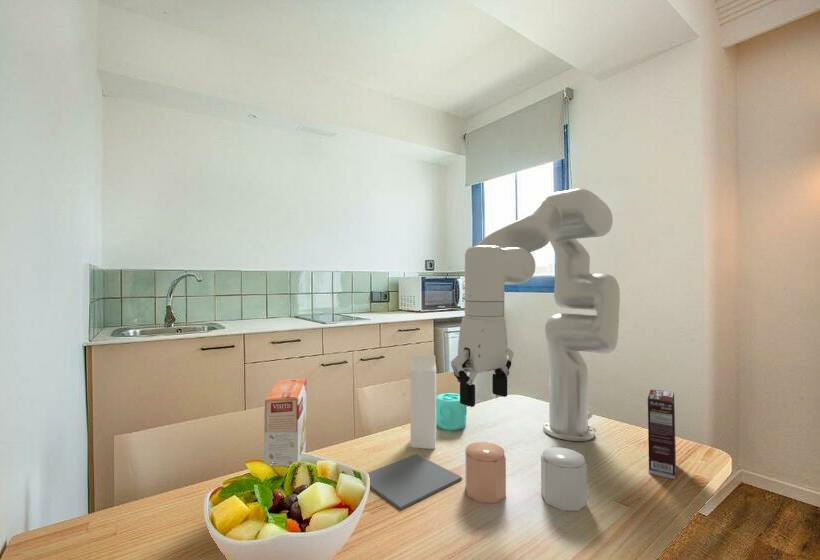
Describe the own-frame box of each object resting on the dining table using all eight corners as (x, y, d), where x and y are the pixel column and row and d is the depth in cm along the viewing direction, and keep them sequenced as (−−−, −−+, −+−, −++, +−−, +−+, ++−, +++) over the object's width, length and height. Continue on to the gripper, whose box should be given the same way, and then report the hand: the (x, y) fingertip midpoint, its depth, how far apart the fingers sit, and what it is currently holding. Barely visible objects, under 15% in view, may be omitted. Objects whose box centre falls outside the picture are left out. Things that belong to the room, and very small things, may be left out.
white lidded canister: (555, 484, 76) (555, 444, 76) (592, 500, 71) (592, 456, 71) (535, 497, 72) (534, 454, 72) (573, 515, 66) (572, 469, 66)
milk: (435, 449, 93) (435, 357, 92) (410, 448, 93) (410, 357, 93) (436, 439, 99) (436, 353, 99) (413, 437, 99) (413, 352, 99)
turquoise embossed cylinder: (466, 421, 111) (466, 393, 111) (463, 432, 103) (463, 402, 103) (439, 419, 113) (439, 392, 113) (434, 429, 105) (434, 400, 105)
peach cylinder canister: (482, 478, 79) (482, 438, 79) (512, 492, 73) (512, 450, 73) (458, 490, 74) (458, 449, 74) (488, 507, 69) (488, 462, 69)
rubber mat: (416, 455, 89) (416, 453, 89) (461, 479, 78) (461, 477, 78) (357, 479, 79) (357, 476, 79) (400, 509, 68) (400, 507, 68)
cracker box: (299, 522, 65) (299, 397, 65) (261, 525, 64) (261, 399, 64) (307, 479, 78) (307, 377, 79) (276, 482, 77) (276, 378, 78)
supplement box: (650, 458, 87) (649, 388, 88) (676, 464, 85) (675, 391, 85) (647, 473, 80) (646, 397, 81) (675, 480, 78) (674, 402, 78)
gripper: (496, 307, 82) (496, 388, 82) (438, 311, 71) (438, 404, 71) (527, 309, 77) (526, 396, 76) (469, 313, 65) (469, 414, 65)
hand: (484, 399), depth 74 cm, fingers open, 9 cm apart
